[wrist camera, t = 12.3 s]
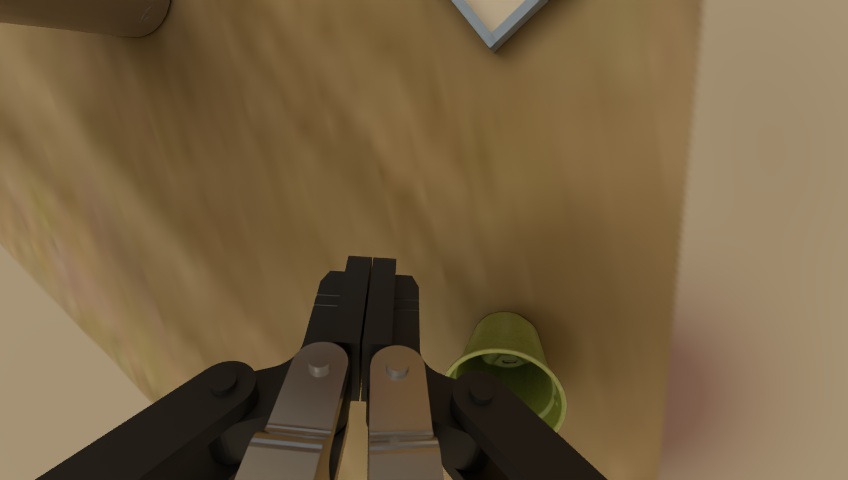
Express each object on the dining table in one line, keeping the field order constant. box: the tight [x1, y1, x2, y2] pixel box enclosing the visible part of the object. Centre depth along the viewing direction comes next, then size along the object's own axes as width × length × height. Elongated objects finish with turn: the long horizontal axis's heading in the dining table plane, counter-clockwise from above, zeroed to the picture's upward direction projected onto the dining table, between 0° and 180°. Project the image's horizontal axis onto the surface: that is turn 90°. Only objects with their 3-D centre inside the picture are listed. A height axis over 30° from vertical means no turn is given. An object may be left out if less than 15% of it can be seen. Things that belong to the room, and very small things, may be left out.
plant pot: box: [445, 312, 567, 432], centre depth 36 cm, size 9×9×9 cm
